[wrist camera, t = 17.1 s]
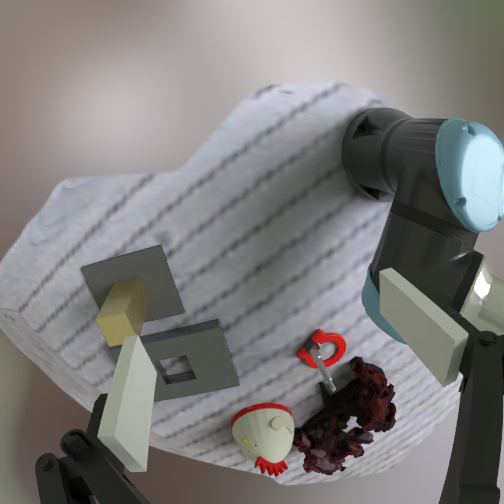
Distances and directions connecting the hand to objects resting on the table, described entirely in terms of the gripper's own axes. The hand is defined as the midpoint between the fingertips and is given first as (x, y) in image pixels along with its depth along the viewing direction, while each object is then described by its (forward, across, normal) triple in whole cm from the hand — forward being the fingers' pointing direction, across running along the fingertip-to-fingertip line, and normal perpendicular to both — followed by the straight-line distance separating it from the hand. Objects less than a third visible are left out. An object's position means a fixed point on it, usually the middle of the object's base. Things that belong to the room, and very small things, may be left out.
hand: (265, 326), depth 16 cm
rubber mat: (+32, -18, -10) cm, 38 cm away
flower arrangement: (+32, +13, -53) cm, 63 cm away
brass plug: (+31, -18, -10) cm, 37 cm away
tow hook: (+32, +11, -32) cm, 47 cm away
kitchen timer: (+32, -5, -50) cm, 59 cm away
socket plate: (+32, -16, -26) cm, 44 cm away
